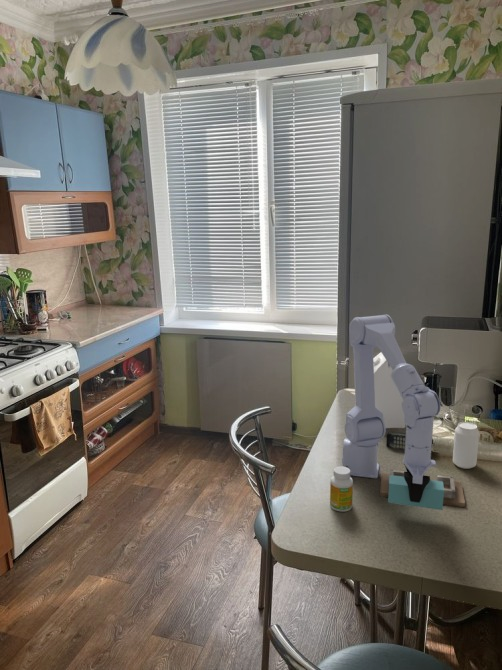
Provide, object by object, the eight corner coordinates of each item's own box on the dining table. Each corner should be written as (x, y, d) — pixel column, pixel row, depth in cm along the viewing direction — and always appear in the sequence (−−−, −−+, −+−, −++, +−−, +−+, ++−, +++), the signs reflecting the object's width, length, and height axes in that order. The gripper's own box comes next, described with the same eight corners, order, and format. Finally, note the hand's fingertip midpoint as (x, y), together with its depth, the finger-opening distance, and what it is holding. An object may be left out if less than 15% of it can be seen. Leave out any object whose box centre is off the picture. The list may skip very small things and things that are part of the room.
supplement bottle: (338, 514, 123) (339, 477, 121) (325, 503, 128) (326, 468, 126) (356, 508, 126) (358, 472, 123) (343, 497, 130) (344, 462, 128)
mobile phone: (385, 433, 155) (438, 440, 149) (387, 429, 158) (439, 436, 152) (385, 448, 157) (438, 456, 151) (387, 444, 159) (439, 451, 153)
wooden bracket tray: (380, 495, 131) (380, 485, 130) (381, 476, 140) (382, 466, 139) (464, 506, 125) (465, 495, 125) (460, 485, 135) (461, 475, 134)
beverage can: (478, 471, 142) (482, 430, 139) (454, 469, 143) (457, 429, 140) (473, 460, 148) (477, 421, 145) (450, 458, 149) (453, 420, 146)
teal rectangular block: (388, 502, 121) (389, 483, 120) (388, 493, 125) (389, 474, 124) (442, 510, 118) (444, 490, 117) (441, 500, 121) (442, 481, 120)
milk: (405, 427, 170) (409, 351, 164) (370, 428, 170) (373, 352, 164) (395, 413, 182) (399, 342, 175) (362, 413, 182) (365, 342, 175)
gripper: (439, 459, 110) (434, 516, 113) (435, 431, 123) (431, 482, 127) (404, 455, 112) (400, 511, 115) (404, 428, 125) (401, 478, 128)
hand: (414, 495), depth 121 cm, fingers closed on teal rectangular block, 4 cm apart
